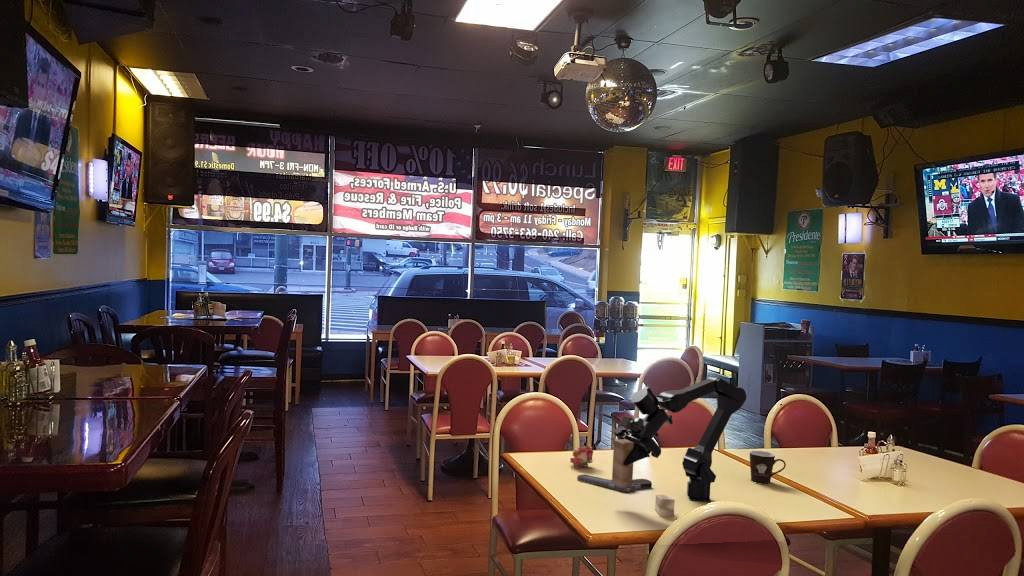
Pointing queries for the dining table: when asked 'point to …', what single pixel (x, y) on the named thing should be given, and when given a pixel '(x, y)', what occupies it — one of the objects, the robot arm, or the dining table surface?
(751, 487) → the dining table surface
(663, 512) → the maple block
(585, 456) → the flower
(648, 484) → the handgun
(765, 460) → the coffee mug
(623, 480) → the walnut block
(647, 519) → the dining table surface
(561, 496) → the dining table surface
